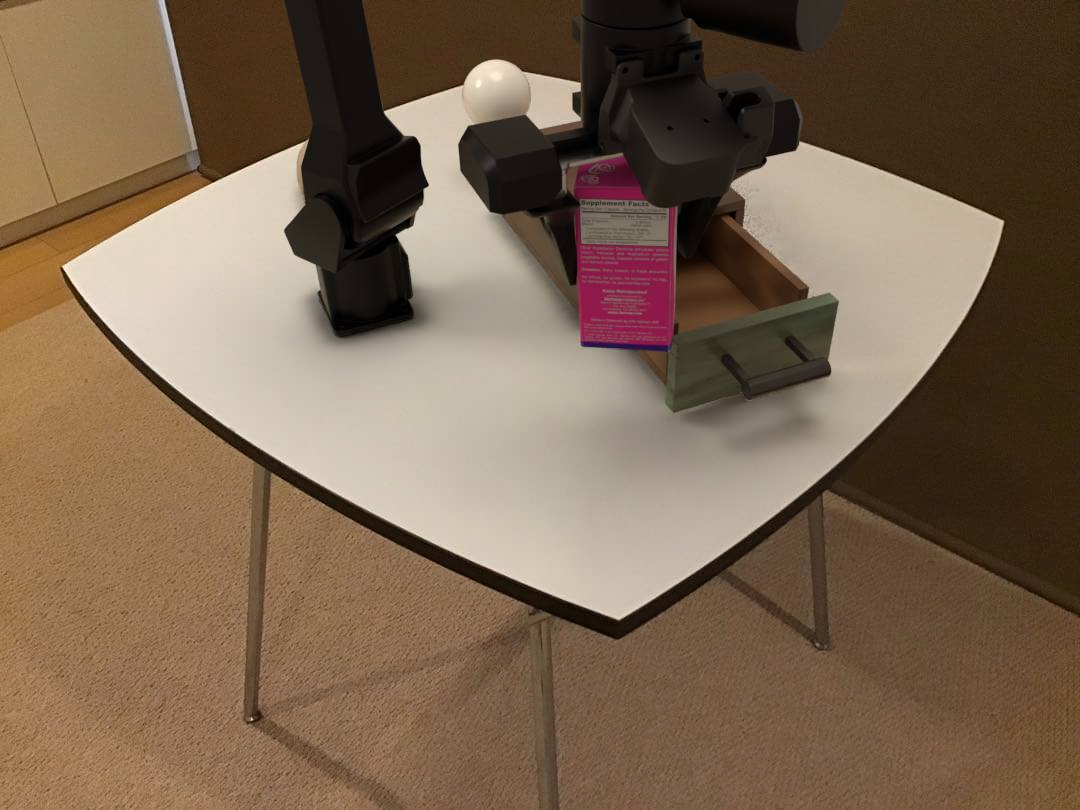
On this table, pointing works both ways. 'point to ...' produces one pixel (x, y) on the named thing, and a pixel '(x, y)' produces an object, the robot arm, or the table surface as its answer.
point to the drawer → (741, 323)
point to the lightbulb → (496, 92)
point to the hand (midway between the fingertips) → (628, 268)
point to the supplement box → (623, 261)
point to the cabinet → (537, 240)
